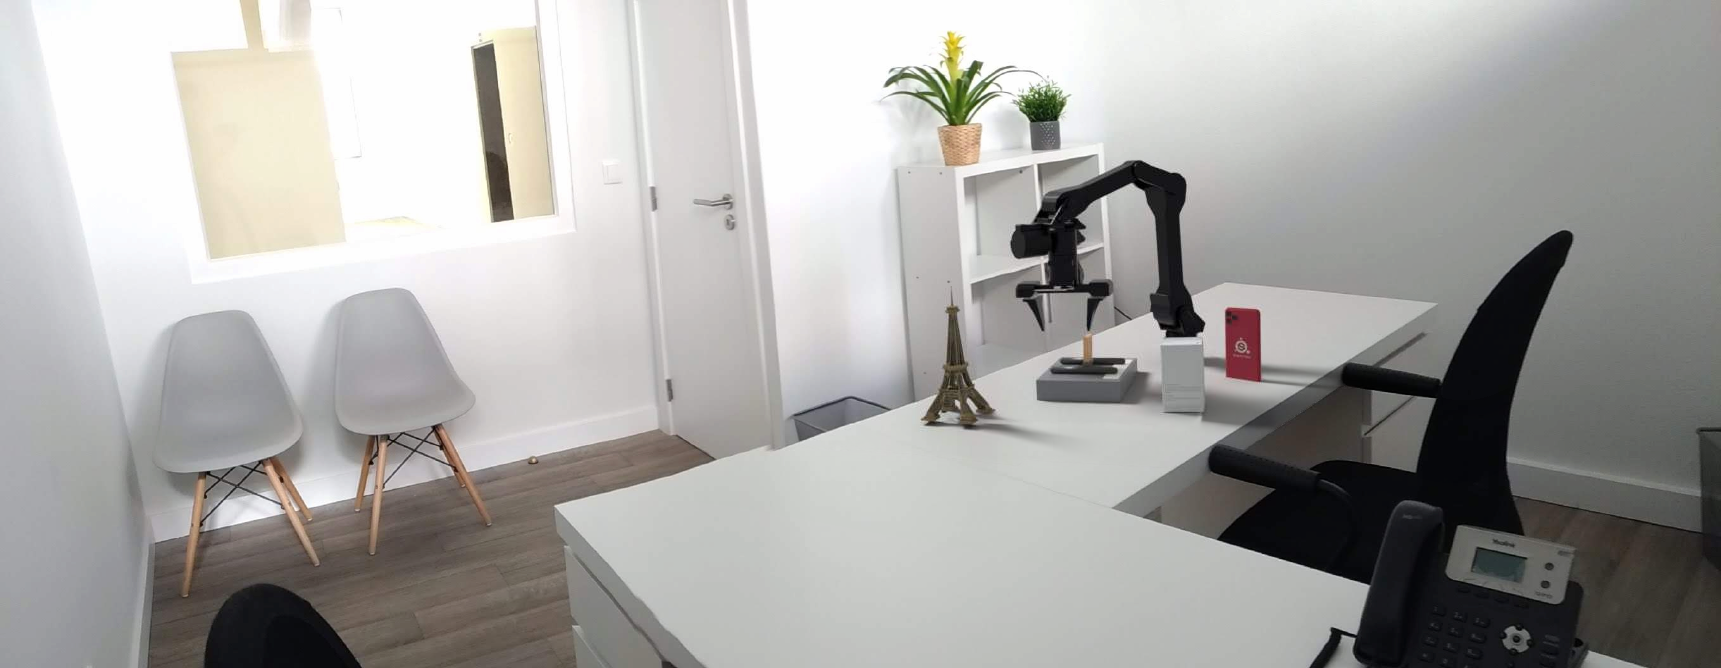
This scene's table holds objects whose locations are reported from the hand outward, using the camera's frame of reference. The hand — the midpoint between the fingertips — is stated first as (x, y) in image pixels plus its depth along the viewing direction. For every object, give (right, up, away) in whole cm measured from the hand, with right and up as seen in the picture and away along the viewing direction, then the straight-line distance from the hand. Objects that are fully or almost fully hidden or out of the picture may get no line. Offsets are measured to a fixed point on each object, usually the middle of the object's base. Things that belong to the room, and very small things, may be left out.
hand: (1065, 331), depth 218 cm
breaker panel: (+5, -12, 0) cm, 13 cm away
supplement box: (+18, -14, -20) cm, 30 cm away
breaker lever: (+4, -7, 0) cm, 9 cm away
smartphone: (+34, -11, -5) cm, 36 cm away
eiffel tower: (-23, -16, -14) cm, 31 cm away
